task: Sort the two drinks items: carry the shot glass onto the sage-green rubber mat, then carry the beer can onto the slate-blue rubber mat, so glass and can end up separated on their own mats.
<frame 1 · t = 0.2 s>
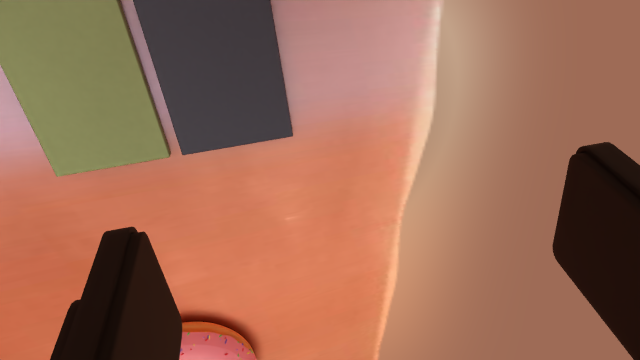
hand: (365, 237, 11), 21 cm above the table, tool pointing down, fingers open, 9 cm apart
doughnut: (195, 352, 44), on the table
slate mat: (216, 53, 29), on the table
sage mat: (79, 75, 29), on the table
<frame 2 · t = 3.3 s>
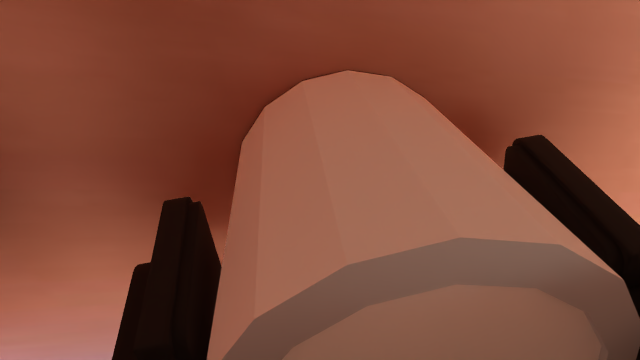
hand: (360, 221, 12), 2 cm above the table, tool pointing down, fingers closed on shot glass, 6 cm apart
shot glass: (342, 167, 13), on the table, touching gripper
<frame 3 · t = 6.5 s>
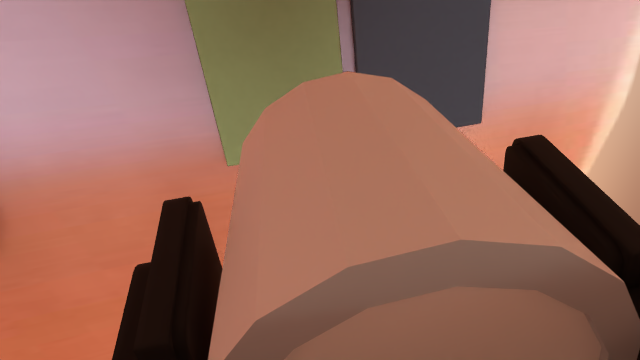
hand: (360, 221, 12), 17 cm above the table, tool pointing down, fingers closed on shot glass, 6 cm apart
slate mat: (419, 30, 27), on the table
shot glass: (342, 168, 13), point 14 cm above the table, touching gripper
sage mat: (271, 53, 26), on the table
when the fingers open (3 cm above the table, at t = 10.2 s): shot glass stays where it is, resting on sage mat.
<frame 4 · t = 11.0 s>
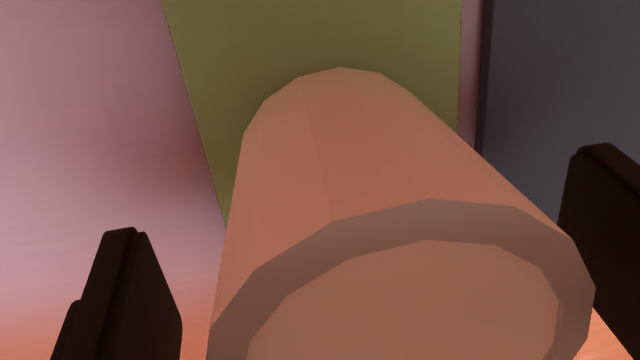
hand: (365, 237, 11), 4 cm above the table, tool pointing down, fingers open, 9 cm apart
slate mat: (589, 106, 15), on the table
shot glass: (336, 157, 15), resting on sage mat
sage mat: (333, 151, 15), on the table
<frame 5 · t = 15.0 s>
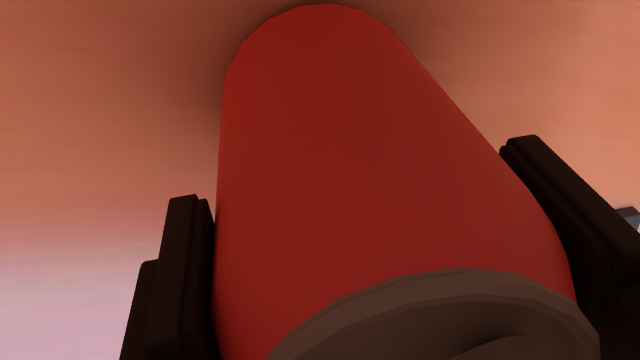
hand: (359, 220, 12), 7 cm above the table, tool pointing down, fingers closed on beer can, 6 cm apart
beer can: (317, 92, 18), on the table, touching gripper
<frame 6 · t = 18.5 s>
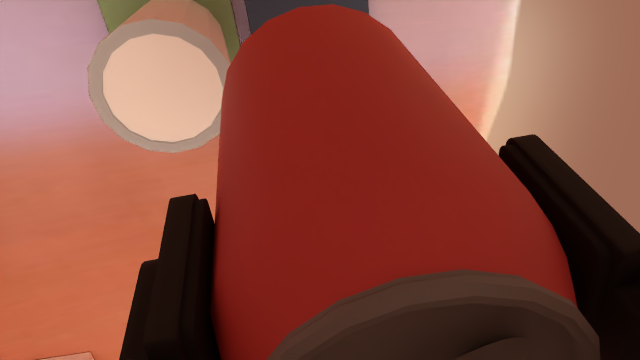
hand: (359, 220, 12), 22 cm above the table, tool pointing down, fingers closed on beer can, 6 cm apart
slate mat: (309, 20, 30), on the table
shot glass: (178, 43, 30), resting on sage mat
beer can: (317, 93, 18), point 14 cm above the table, touching gripper
sage mat: (178, 42, 30), on the table
when the fingers open (8 cm above the table, at t = 22.2 s): beer can stays where it is, resting on slate mat.
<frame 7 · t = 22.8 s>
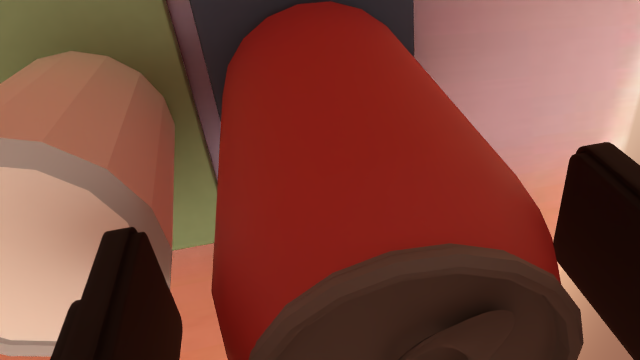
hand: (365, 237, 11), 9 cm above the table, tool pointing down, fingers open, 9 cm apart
slate mat: (314, 86, 18), on the table
shot glass: (93, 126, 18), resting on sage mat
beer can: (315, 89, 18), resting on slate mat
sage mat: (96, 122, 18), on the table
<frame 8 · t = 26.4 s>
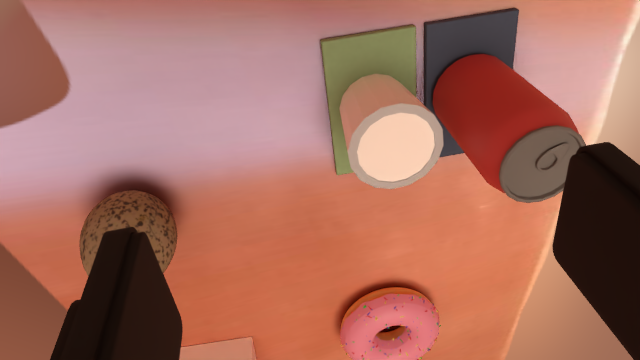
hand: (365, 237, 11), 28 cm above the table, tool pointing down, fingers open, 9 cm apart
doughnut: (384, 313, 56), on the table
slate mat: (466, 87, 41), on the table
shot glass: (373, 105, 41), resting on sage mat
beer can: (468, 89, 41), resting on slate mat
decorative egg: (139, 205, 43), on the table
sage mat: (371, 103, 41), on the table
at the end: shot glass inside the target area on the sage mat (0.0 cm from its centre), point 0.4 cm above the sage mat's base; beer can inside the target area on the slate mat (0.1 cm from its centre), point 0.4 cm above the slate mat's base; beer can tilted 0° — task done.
